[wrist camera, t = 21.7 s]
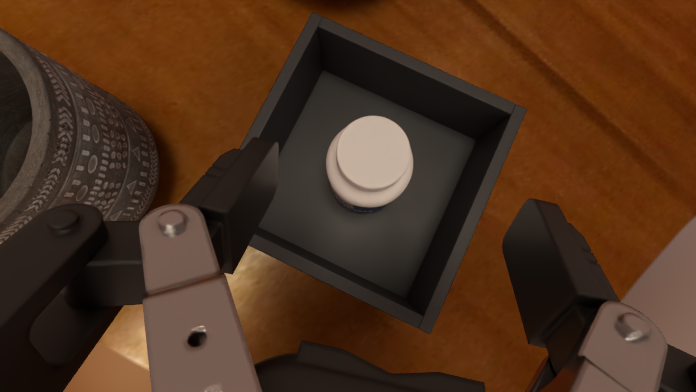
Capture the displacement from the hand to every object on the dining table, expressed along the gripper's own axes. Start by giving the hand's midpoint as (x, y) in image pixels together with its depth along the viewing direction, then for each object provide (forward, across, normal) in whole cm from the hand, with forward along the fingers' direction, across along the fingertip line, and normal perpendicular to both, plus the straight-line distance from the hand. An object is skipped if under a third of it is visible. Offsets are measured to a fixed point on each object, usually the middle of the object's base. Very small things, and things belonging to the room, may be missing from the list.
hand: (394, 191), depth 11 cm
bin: (+14, +1, +10) cm, 17 cm away
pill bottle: (+14, +1, +10) cm, 17 cm away
